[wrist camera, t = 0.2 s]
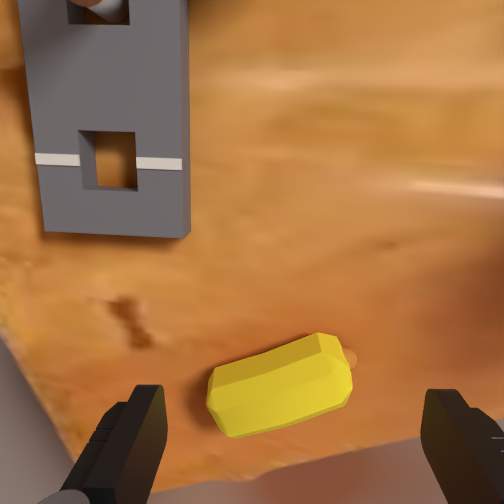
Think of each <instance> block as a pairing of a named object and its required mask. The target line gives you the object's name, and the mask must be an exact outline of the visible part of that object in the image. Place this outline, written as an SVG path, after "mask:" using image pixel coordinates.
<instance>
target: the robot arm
mask: <svg viewBox="0 0 504 504" xmlns="http://www.w3.org/2000/svg"><path fill="white" fill-rule="evenodd" d="M167 432H168V424H167V415H166V406H165V397H164V389H163V386H162V385H137V386H136V387H135V388H134V390H133V392H132V394H131V396H130V398H129V400H128V402H117V403H116V404H115V405H114V406H113V407H112V408H111V409H109V410H108V411H107V412H106V413H105V414H104V415H103V417H102V419H101V421H100V422H99V424H98V426H97V427H96V431H94V433H93V434H92V436H91V438H90V439H89V443H87V445H86V446H85V448H84V450H83V451H82V453H81V455H80V457H79V458H78V460H77V462H76V463H75V465H74V467H73V469H72V470H71V472H70V474H69V476H68V477H67V479H66V481H65V482H64V484H63V486H62V487H61V489H60V491H59V492H56V493H54V494H51V495H50V496H48V497H46V498H44V499H43V500H42V501H40V502H39V503H38V504H146V503H147V500H148V497H149V494H150V491H151V488H152V485H153V482H154V479H155V476H156V473H157V470H158V467H159V464H160V461H161V458H162V455H163V452H164V449H165V445H166V441H167ZM420 435H421V443H422V447H423V450H424V453H425V455H426V458H427V460H428V462H429V464H430V466H431V468H432V470H433V472H434V475H435V477H436V479H437V481H438V483H439V485H440V487H441V489H442V491H443V493H444V496H445V498H446V500H447V502H448V504H504V432H503V431H502V429H501V428H500V427H499V425H498V424H497V423H496V422H495V421H494V420H493V419H492V418H490V417H489V416H488V415H486V414H485V413H484V412H482V411H481V410H480V409H478V408H470V407H469V406H468V404H467V403H466V401H465V400H464V399H463V397H462V396H461V394H460V393H459V392H458V391H457V390H455V389H428V390H427V392H426V396H425V402H424V409H423V416H422V423H421V431H420Z"/></svg>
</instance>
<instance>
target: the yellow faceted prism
mask: <svg viewBox="0 0 504 504" xmlns="http://www.w3.org/2000/svg"><path fill="white" fill-rule="evenodd" d="M356 363H357V355H356V354H355V353H354V352H353V351H352V350H351V349H350V348H349V347H342V346H341V344H340V342H339V340H338V338H337V336H332V335H327V334H323V333H318V332H316V333H314V334H311V335H309V336H306V337H304V338H301V339H298V340H296V341H293V342H291V343H288V344H286V345H283V346H280V347H278V348H275V349H273V350H270V351H268V352H265V353H262V354H258V355H255V356H252V357H249V358H245V359H242V360H239V361H235V362H232V363H229V364H225V365H222V366H219V367H215V368H214V370H213V372H212V374H211V376H210V378H209V380H208V392H207V395H206V396H205V405H206V408H207V410H208V412H209V413H211V414H212V416H213V418H214V420H215V422H216V424H217V426H218V428H219V430H220V431H222V432H223V433H224V434H226V435H227V436H228V437H230V438H237V439H238V438H242V437H246V436H250V435H254V434H258V433H263V432H267V431H271V430H275V429H279V428H283V427H287V426H291V425H294V424H296V423H299V422H302V421H304V420H307V419H310V418H313V417H315V416H318V415H321V414H324V413H326V412H329V411H332V410H335V409H337V408H340V407H343V406H345V404H346V402H347V400H348V398H349V396H350V393H351V391H352V389H353V387H352V377H351V371H352V370H353V369H354V368H355V367H356Z"/></svg>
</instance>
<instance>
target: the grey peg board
mask: <svg viewBox="0 0 504 504" xmlns="http://www.w3.org/2000/svg"><path fill="white" fill-rule="evenodd" d="M17 2H18V10H19V18H20V27H21V35H22V44H23V52H24V60H25V69H26V77H27V86H28V94H29V102H30V111H31V119H32V128H33V136H34V144H35V160H36V164H37V170H38V178H39V186H40V195H41V203H42V212H43V220H44V228H45V231H52V232H71V233H90V234H109V235H128V236H147V237H166V238H184V237H186V236H187V235H188V234H189V233H190V232H191V207H190V113H189V20H188V0H129V16H130V25H85V16H84V7H82V6H79V5H77V4H75V3H73V2H72V1H70V0H17ZM93 131H99V132H129V133H135V139H136V166H137V181H138V188H127V187H104V186H98V185H97V172H96V159H95V146H94V133H93Z"/></svg>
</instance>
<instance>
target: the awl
mask: <svg viewBox="0 0 504 504" xmlns="http://www.w3.org/2000/svg"><path fill="white" fill-rule="evenodd" d="M70 1H72V2H73V3H75V4H77V5H79V6H82V7H87V8H88V9H90V10H91V11H93V12H94V13H96V14H97V15H98V16H100V17H101V18H103V19H104V20H106V21H108V22H112V23H115V22H119V21H121V20H123V19H124V18H125V17H126V16H127V14H128V12H129V0H70Z"/></svg>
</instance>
